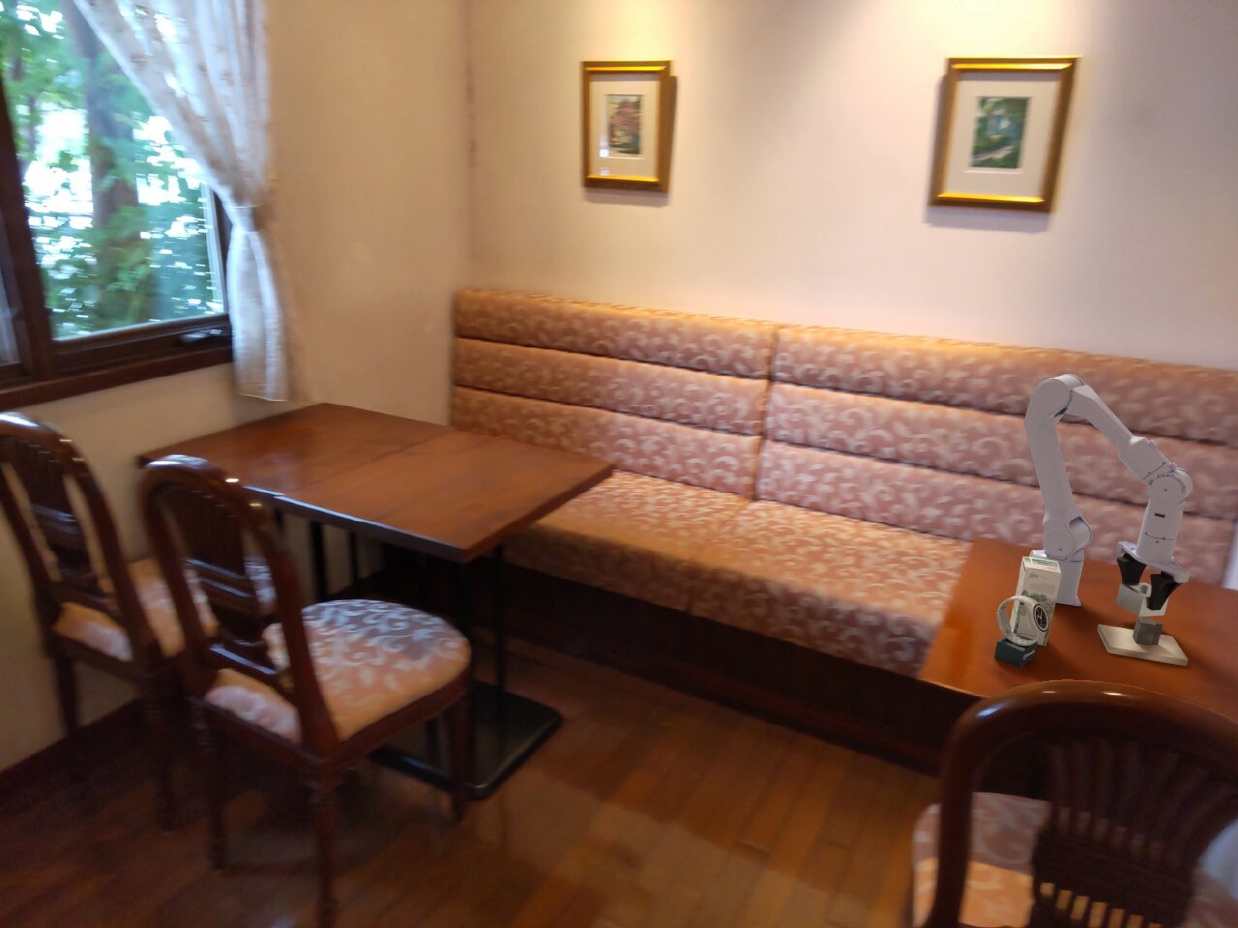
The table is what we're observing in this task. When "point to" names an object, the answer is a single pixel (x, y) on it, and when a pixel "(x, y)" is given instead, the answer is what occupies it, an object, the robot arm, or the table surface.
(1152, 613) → the grey slotted channel block
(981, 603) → the table surface
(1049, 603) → the syrup box
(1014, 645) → the watch
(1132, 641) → the keyed post base
